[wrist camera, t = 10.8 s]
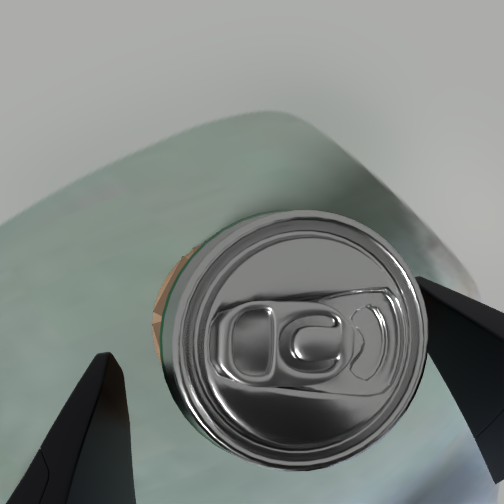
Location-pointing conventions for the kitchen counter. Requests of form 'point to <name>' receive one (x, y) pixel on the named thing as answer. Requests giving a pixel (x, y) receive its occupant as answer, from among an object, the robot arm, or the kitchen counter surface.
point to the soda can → (294, 339)
